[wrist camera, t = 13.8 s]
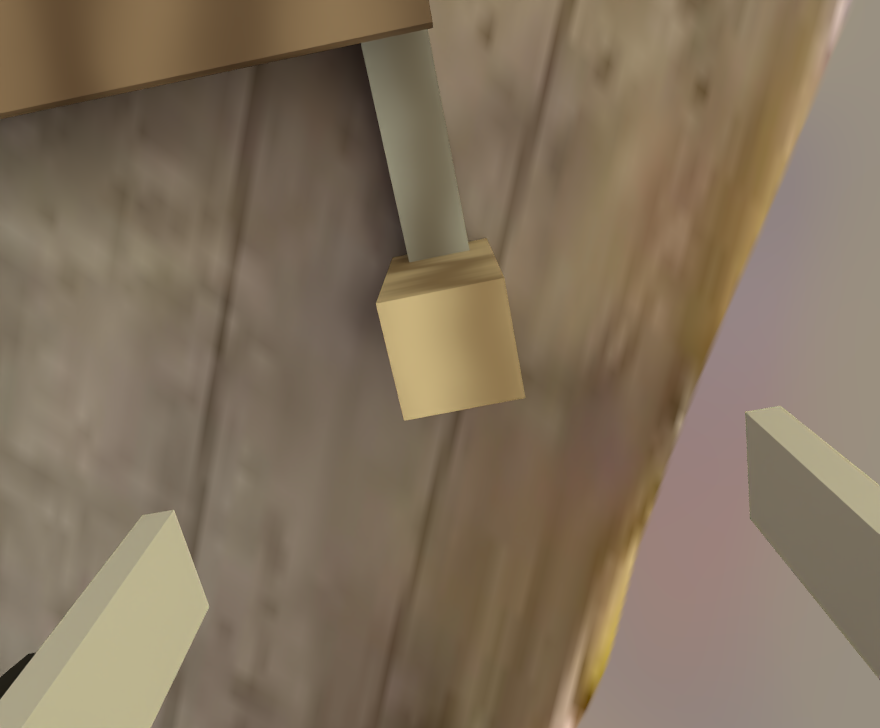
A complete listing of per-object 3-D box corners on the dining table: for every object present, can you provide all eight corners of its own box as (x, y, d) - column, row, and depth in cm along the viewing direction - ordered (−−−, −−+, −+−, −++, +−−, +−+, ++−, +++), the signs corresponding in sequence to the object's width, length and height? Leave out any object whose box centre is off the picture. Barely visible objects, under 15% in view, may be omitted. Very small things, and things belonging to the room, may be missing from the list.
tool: (413, 346, 37) (404, 420, 27) (306, -117, 30) (245, -233, 20) (502, 328, 36) (525, 397, 27) (417, -144, 29) (407, -274, 20)
